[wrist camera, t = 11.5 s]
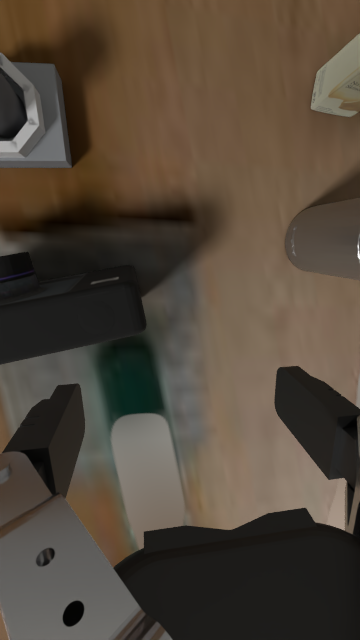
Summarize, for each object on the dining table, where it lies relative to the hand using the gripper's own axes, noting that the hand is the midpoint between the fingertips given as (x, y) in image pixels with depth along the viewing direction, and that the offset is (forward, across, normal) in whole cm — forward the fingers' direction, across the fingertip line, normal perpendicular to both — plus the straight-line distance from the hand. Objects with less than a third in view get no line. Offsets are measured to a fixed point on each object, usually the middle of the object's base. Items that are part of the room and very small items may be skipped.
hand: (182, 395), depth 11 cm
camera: (+30, +13, 0) cm, 33 cm away
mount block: (+30, +15, -19) cm, 38 cm away
